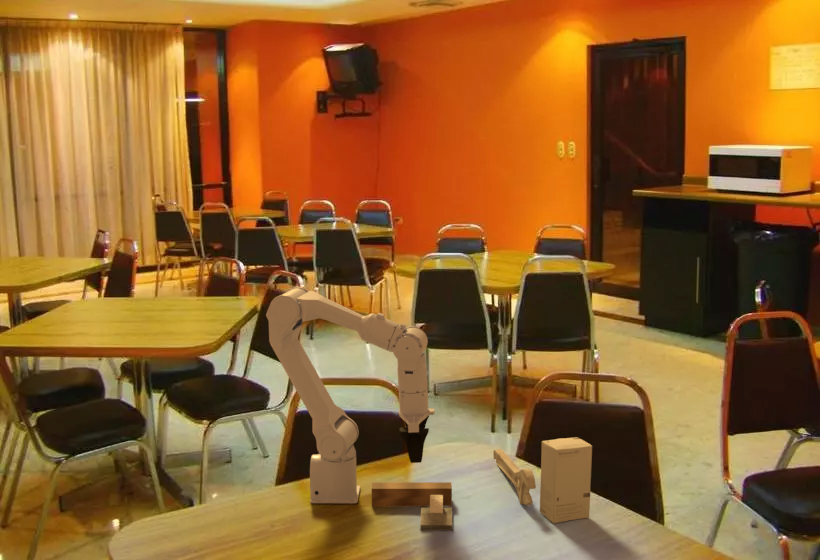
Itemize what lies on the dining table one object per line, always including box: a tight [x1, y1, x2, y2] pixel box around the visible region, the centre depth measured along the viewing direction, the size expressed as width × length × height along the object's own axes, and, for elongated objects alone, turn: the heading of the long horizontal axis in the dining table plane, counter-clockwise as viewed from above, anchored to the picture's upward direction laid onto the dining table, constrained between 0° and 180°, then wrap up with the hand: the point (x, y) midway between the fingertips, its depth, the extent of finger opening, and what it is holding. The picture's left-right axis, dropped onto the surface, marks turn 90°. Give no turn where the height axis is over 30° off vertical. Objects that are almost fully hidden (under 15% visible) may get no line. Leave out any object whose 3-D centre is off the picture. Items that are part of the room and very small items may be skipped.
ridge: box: [419, 495, 453, 531], centre depth 173 cm, size 6×8×4 cm
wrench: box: [492, 448, 537, 506], centre depth 189 cm, size 8×2×30 cm
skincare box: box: [539, 436, 593, 525], centre depth 174 cm, size 8×6×15 cm
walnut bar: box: [371, 481, 453, 507], centre depth 181 cm, size 16×3×4 cm, turn 89°
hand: (416, 454), depth 179 cm, fingers open, 7 cm apart
